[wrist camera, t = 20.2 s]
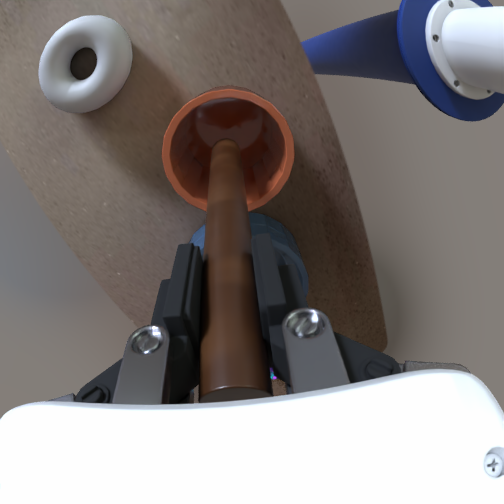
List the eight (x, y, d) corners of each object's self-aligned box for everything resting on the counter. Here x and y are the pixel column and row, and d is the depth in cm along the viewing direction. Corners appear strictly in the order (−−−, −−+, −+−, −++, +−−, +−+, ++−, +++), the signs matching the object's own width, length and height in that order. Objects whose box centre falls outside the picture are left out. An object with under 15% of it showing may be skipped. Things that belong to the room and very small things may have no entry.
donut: (140, 11, 21) (50, 27, 20) (130, 4, 18) (34, 25, 17) (136, 106, 26) (50, 116, 25) (125, 111, 23) (33, 122, 22)
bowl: (296, 203, 33) (307, 227, 28) (299, 297, 40) (307, 328, 35) (173, 218, 33) (164, 245, 28) (198, 309, 40) (195, 341, 35)
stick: (243, 141, 21) (285, 388, 7) (235, 166, 22) (261, 417, 8) (215, 135, 21) (204, 384, 7) (209, 160, 22) (193, 413, 8)
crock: (272, 80, 26) (289, 83, 18) (280, 170, 31) (297, 207, 23) (174, 94, 26) (151, 102, 18) (189, 182, 31) (176, 222, 23)
